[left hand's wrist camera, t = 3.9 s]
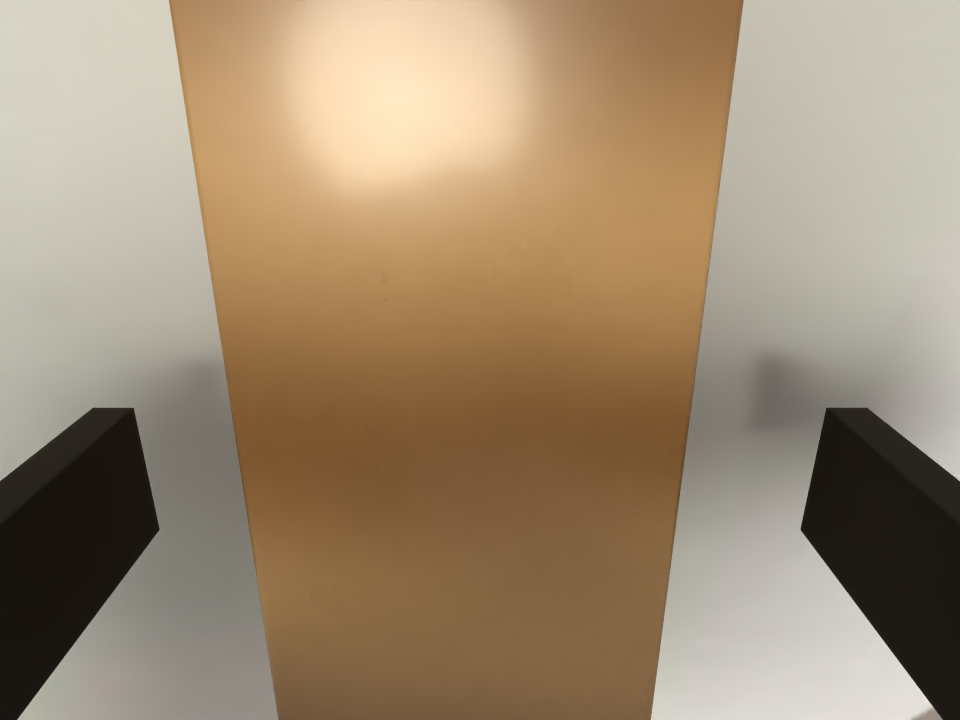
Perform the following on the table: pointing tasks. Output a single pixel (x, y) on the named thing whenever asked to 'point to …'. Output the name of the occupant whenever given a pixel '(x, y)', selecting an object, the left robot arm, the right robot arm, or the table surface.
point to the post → (460, 334)
